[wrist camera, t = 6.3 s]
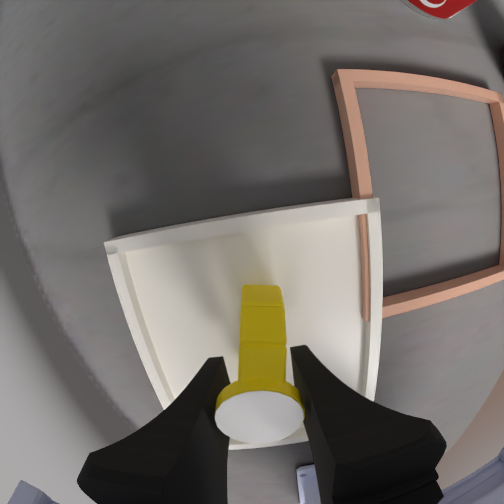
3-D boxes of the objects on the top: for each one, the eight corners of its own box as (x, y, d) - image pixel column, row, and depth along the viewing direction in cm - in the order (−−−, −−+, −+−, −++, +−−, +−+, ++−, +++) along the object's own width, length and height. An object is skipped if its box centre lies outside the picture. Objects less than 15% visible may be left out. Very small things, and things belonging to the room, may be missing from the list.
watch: (279, 370, 14) (291, 465, 8) (227, 369, 14) (218, 464, 8) (291, 265, 12) (322, 352, 7) (227, 263, 12) (209, 350, 6)
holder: (502, 271, 13) (511, 276, 12) (358, 313, 13) (365, 322, 13) (492, 96, 10) (501, 93, 9) (331, 76, 11) (337, 68, 10)
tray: (364, 414, 15) (369, 426, 14) (188, 437, 16) (185, 450, 15) (367, 195, 12) (378, 197, 11) (115, 236, 12) (103, 242, 11)
